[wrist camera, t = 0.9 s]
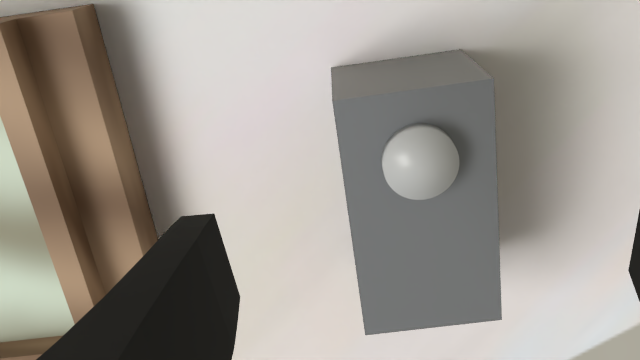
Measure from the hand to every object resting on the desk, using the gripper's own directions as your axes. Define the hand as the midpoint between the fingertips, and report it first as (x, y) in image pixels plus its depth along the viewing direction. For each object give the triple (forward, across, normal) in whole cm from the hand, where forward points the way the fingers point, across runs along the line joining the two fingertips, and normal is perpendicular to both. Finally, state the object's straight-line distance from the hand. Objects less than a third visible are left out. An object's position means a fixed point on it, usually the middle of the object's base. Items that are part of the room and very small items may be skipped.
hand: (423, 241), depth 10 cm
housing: (+13, 0, +7) cm, 15 cm away
